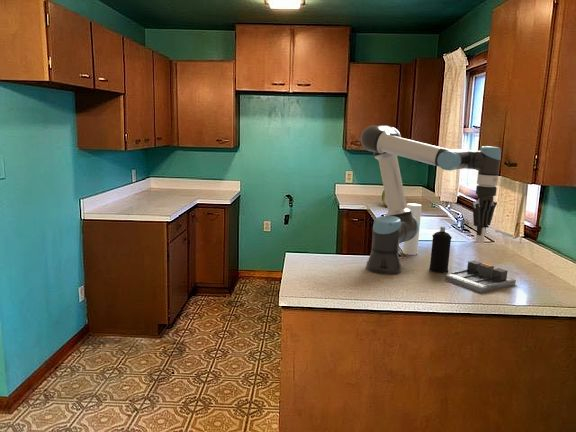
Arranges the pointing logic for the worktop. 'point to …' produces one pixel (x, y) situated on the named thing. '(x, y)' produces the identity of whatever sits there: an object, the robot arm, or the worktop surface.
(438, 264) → the aerosol can
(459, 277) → the panel
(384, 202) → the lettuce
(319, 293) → the worktop surface
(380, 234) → the robot arm
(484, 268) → the breaker handle
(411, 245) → the cylindrical container
